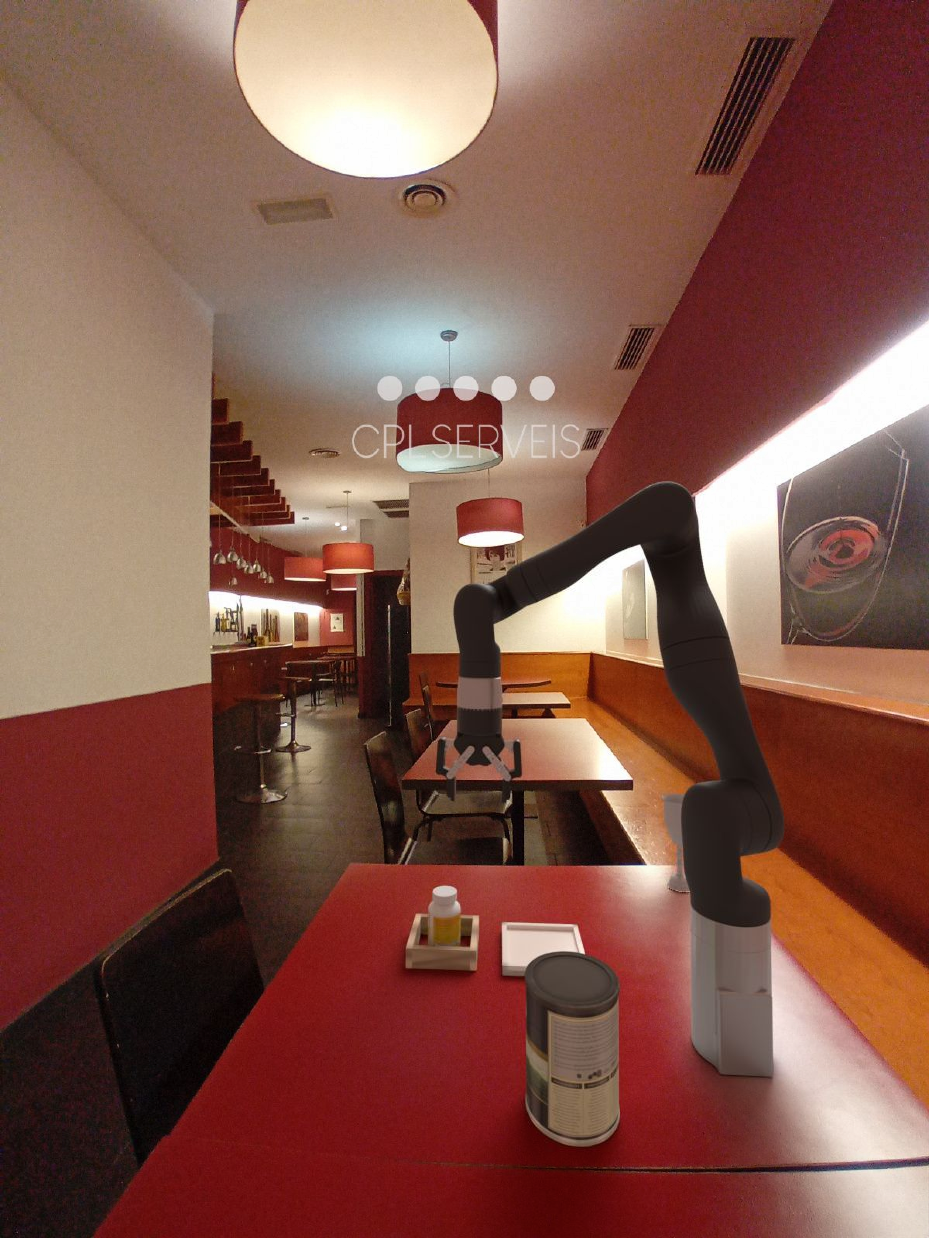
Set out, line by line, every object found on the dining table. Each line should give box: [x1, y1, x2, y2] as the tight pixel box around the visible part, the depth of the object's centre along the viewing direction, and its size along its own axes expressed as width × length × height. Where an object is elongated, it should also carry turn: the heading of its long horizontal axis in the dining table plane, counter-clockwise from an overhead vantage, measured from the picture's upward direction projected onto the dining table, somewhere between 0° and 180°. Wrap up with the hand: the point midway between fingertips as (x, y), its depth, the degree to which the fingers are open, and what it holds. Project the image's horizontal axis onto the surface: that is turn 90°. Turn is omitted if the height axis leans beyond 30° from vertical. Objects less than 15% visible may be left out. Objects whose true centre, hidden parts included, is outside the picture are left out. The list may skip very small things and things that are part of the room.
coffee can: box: [524, 951, 621, 1148], centre depth 63 cm, size 10×10×14 cm
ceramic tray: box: [501, 921, 586, 977], centre depth 93 cm, size 13×13×2 cm
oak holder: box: [405, 913, 480, 972], centre depth 94 cm, size 11×11×3 cm
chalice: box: [661, 793, 689, 892], centre depth 117 cm, size 7×7×18 cm
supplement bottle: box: [427, 885, 462, 947], centre depth 94 cm, size 5×5×10 cm
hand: (478, 801), depth 95 cm, fingers open, 8 cm apart
